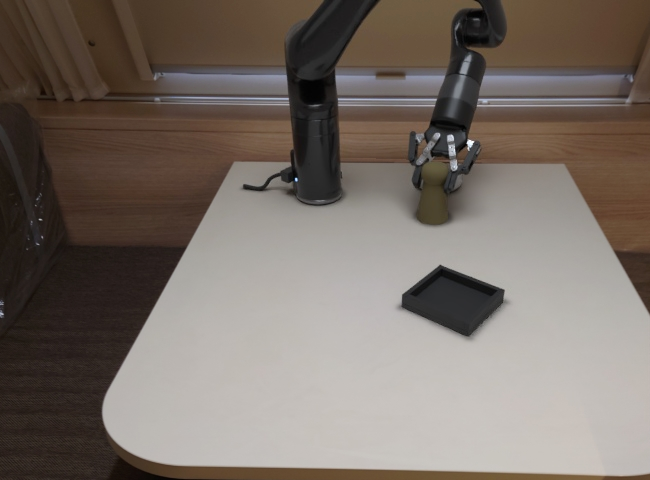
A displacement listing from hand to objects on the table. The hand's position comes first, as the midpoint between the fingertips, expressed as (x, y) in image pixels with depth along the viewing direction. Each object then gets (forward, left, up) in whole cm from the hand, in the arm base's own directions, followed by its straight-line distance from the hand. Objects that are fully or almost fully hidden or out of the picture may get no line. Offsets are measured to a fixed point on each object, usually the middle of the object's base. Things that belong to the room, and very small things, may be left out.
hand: (431, 189), depth 106 cm
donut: (-7, +15, -7) cm, 18 cm away
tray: (+18, -20, -7) cm, 28 cm away
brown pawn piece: (0, +2, -7) cm, 7 cm away
